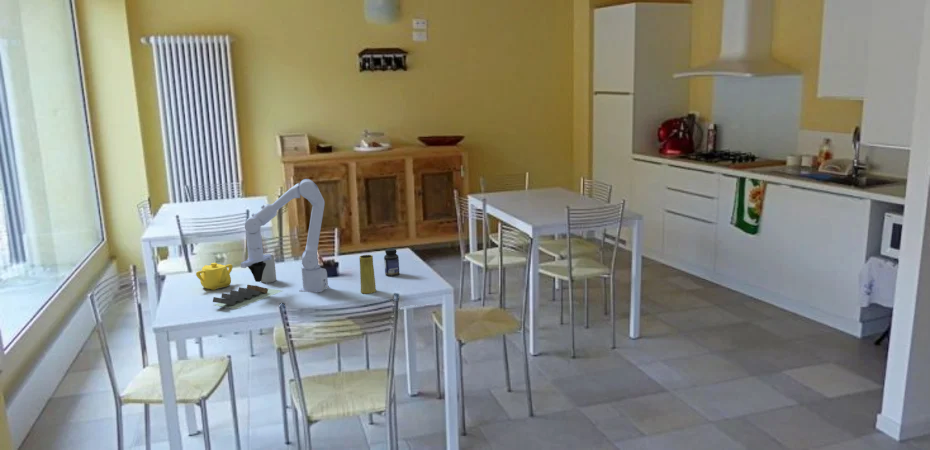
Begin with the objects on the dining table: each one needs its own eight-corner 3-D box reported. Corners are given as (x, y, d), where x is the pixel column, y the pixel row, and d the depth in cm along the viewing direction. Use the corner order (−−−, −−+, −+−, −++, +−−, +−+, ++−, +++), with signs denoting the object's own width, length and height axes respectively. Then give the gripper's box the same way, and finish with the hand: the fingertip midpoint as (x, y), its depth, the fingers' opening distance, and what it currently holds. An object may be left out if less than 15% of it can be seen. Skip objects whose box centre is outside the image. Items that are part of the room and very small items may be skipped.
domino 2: (235, 296, 272) (222, 293, 266) (244, 297, 270) (230, 294, 264) (234, 300, 272) (221, 297, 266) (243, 302, 270) (229, 299, 264)
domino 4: (251, 290, 280) (239, 287, 274) (260, 291, 277) (247, 288, 271) (250, 294, 279) (237, 291, 273) (258, 296, 277) (246, 293, 271)
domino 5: (260, 287, 283) (247, 284, 277) (268, 288, 281) (255, 285, 275) (259, 291, 283) (246, 289, 277) (267, 293, 281) (254, 290, 275)
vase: (363, 294, 275) (361, 259, 272) (358, 291, 280) (356, 255, 277) (378, 292, 278) (376, 256, 275) (373, 288, 283) (370, 253, 280)
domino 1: (227, 299, 269) (213, 297, 263) (236, 300, 267) (221, 298, 261) (226, 303, 269) (212, 301, 263) (235, 305, 267) (220, 303, 261)
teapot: (239, 282, 300) (236, 258, 298) (228, 291, 287) (226, 266, 285) (207, 283, 300) (204, 259, 298) (195, 292, 287) (192, 267, 285)
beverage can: (272, 284, 294) (269, 256, 292) (258, 284, 296) (255, 256, 293) (279, 280, 301) (276, 252, 298) (265, 279, 302) (262, 252, 300)
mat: (261, 288, 289) (261, 287, 289) (283, 291, 283) (283, 290, 283) (213, 305, 268) (213, 305, 268) (236, 309, 262) (235, 308, 262)
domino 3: (244, 293, 276) (230, 290, 270) (252, 294, 274) (239, 291, 268) (242, 297, 276) (229, 294, 270) (251, 299, 274) (237, 296, 268)
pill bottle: (402, 273, 303) (401, 248, 301) (393, 277, 298) (392, 251, 296) (391, 272, 307) (389, 247, 304) (382, 275, 301) (380, 250, 299)
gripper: (261, 243, 285) (264, 275, 287) (233, 251, 272) (237, 285, 275) (274, 244, 281) (277, 277, 284) (246, 252, 269) (250, 286, 272)
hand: (258, 281), depth 279 cm, fingers closed
